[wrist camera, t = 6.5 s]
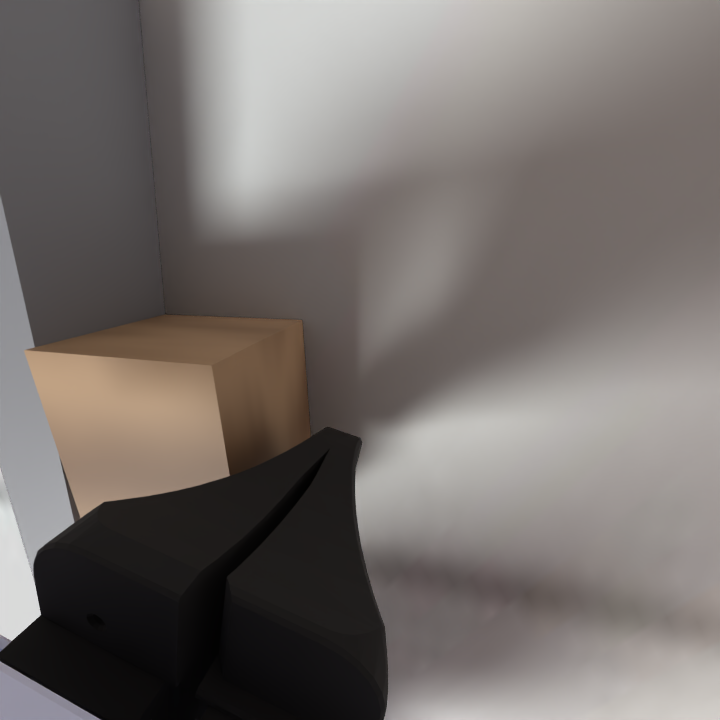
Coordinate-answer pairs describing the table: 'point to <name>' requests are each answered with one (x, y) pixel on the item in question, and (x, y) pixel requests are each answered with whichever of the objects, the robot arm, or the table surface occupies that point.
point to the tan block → (171, 402)
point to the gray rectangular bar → (67, 218)
